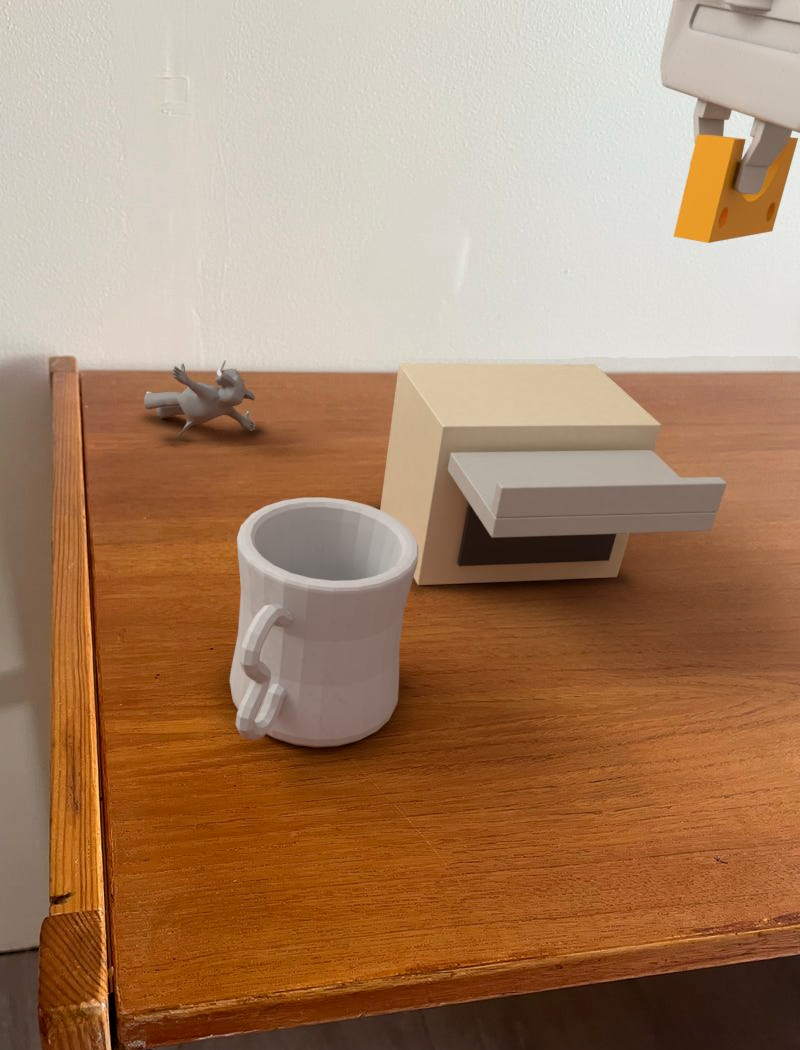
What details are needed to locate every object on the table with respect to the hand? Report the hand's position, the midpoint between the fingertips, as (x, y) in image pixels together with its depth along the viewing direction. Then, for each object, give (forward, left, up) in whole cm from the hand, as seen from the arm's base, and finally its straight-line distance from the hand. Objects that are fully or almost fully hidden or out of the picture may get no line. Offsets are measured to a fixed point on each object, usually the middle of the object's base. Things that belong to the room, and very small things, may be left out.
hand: (722, 182), depth 73 cm
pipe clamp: (-1, -2, -4) cm, 4 cm away
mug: (+34, +29, -22) cm, 50 cm away
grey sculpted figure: (+36, -6, -22) cm, 43 cm away
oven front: (+17, +17, -21) cm, 32 cm away
